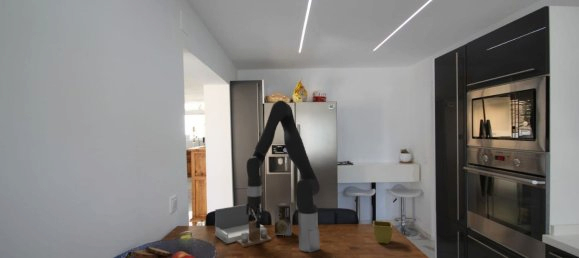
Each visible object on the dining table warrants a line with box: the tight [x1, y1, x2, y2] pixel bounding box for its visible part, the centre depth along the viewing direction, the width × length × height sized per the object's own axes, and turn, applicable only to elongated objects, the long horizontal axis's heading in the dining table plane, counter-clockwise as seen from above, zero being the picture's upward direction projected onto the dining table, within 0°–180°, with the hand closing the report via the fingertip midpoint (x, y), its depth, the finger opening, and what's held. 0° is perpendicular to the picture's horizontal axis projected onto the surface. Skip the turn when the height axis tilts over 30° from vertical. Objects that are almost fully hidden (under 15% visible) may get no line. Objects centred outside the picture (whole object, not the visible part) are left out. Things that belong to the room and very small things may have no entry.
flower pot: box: [373, 220, 393, 244], centre depth 130 cm, size 9×9×9 cm
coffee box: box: [273, 203, 293, 237], centre depth 144 cm, size 9×6×16 cm
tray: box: [236, 219, 273, 248], centre depth 134 cm, size 8×16×10 cm, turn 126°
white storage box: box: [214, 203, 265, 244], centre depth 144 cm, size 16×22×14 cm
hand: (254, 225), depth 135 cm, fingers open, 8 cm apart
